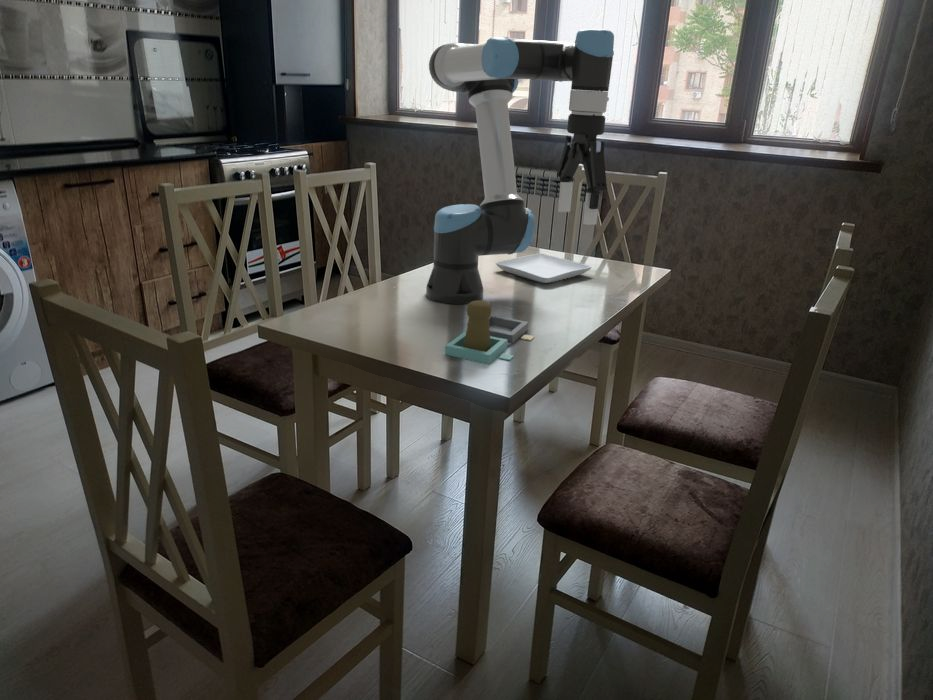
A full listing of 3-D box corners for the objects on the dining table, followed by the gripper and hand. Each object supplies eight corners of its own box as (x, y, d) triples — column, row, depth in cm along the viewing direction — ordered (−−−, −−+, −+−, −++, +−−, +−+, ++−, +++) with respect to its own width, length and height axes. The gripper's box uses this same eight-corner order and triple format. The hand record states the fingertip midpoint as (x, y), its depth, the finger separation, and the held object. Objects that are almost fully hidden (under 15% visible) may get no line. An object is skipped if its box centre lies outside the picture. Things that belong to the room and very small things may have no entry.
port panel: (444, 354, 138) (445, 345, 138) (488, 322, 158) (488, 314, 157) (502, 367, 134) (503, 358, 133) (540, 332, 153) (540, 324, 152)
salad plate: (492, 272, 201) (493, 261, 199) (539, 262, 214) (540, 251, 213) (545, 289, 186) (546, 277, 185) (592, 277, 200) (593, 266, 199)
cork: (484, 344, 145) (487, 296, 140) (495, 355, 139) (498, 305, 135) (458, 347, 142) (460, 298, 138) (469, 358, 137) (471, 307, 133)
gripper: (633, 118, 125) (618, 229, 133) (579, 110, 147) (569, 206, 155) (596, 117, 123) (584, 230, 131) (547, 109, 145) (539, 207, 153)
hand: (576, 217), depth 143 cm, fingers open, 13 cm apart
